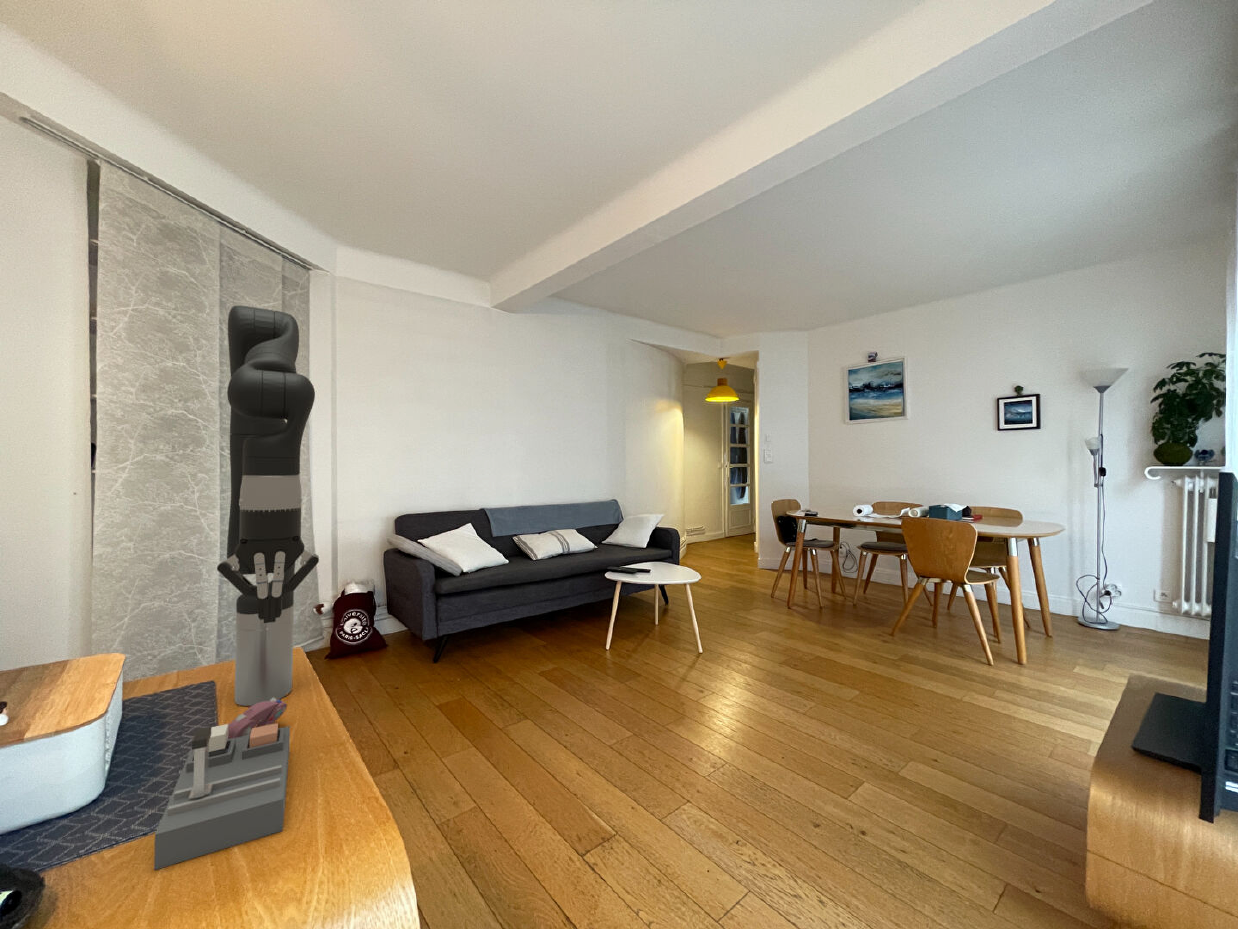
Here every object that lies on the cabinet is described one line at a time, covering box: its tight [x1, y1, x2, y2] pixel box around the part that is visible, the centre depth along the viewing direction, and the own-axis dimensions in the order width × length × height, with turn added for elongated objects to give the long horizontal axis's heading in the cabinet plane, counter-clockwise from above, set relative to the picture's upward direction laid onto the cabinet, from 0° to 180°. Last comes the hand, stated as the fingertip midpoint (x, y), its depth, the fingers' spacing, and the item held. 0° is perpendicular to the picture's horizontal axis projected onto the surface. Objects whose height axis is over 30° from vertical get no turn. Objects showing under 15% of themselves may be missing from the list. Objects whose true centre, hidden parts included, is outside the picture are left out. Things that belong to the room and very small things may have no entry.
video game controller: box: [228, 697, 288, 739], centre depth 83 cm, size 10×5×7 cm, turn 169°
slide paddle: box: [189, 726, 213, 801], centre depth 62 cm, size 3×2×8 cm, turn 32°
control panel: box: [153, 725, 291, 871], centre depth 68 cm, size 20×12×5 cm, turn 31°
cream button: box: [209, 723, 229, 752], centre depth 71 cm, size 3×3×2 cm
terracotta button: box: [250, 722, 279, 748], centre depth 74 cm, size 3×3×2 cm
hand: (269, 621), depth 75 cm, fingers closed
